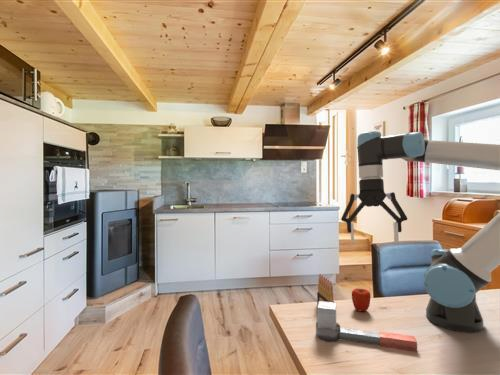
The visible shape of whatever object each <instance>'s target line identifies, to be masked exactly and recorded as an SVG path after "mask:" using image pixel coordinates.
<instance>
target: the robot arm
mask: <svg viewBox="0 0 500 375" xmlns="http://www.w3.org/2000/svg"><path fill="white" fill-rule="evenodd" d="M356 149H357V162H358V179H359V181H358V185H359V193H358V194H356V193H355V194H354V193H350V195H349V201H348V203H347V205H346V207H345V209H344V212H343V214H342V216H341V217H340V220H341V222H344V223H346V231H347V232H348V233H350V242H351V243H352V244H353V243H355V234H354V232H355V230H354V222H352V221H353V220H354V219H355V218H356V216H358V214H359V213H360V212H361V210H362V209H363V208H364V207H368V208H369V207H379V206H380V207H381V208H382V209H383V210H385V211H386V212H387V213H388V215H390V217H392V219H394V221H392V222H393V224H392V225H393V242H394V243H396V244H399V243H400V242H399V241H400V240H399V233H402V230H403V229H402V222H405V221H408V217H407V215H406V214H405V212H404V210H403V208H402V207H401V205H400V203H399V202H398V201H397V196H396V193H395V192H388V193H386V192H385V189H384V188H385V185H384V179H383V177H384V167H383V166H384V165H383V161H384V160H395V159H396V160H397V159H401V160H403V161H405V162H413V163H414V162H420V163H428V164H429V163H430V164H438V165H447V166H456V167H465V168H466V167H467V168H475V169H485V170H493V171H500V144H495V143H494V144H492V143H478V142H461V141H448V140H447V141H446V140H432V139H429V140H428V139H425V136H424V134H423V133H422V132H421V131H414V132H407V133H401V134H395V135H394V134H393V135H386V136H383V135H382V133H381V132H380V131H365V132H362V133H360V134H358V135H357V146H356ZM385 198H387V199H388V200H390V202H391V204H392V205H393V207H394V209H395V210H396V212H397V213H398V215H399V216H398V215H397V214H396V213H395V212H394V211H393V210H392V209H391V208H390V207H389V206H388V205H387V204H386V203H385V201H384V200H385ZM357 199H359V200H360V203H359V204H358V205H357V207H356V208H355V209H354V211H353V212H352V213H351V214H350V215H349V212H350V210H351V208H352V206H353V204H354V202H355V201H357ZM348 215H349V216H348ZM430 258H431V262H430V265H429V267H428V269H426V270H425V273H423V274H424V275H423V286H424V289H425V290H426V293H427V294H428V295H429V297H430V298H429V300H428V303H427V305H426V309H425V316H426V318H427V320H429V321H430V322H432V323H433V324H435V325H437V326H438V327H442V328H444V329H448V330H451V331H456V332H461V333H462V332H464V333H476V332H477V333H478V332H481V331H483V330H484V327H485V326H484V318H483V315H482V313H481V310H480V309H479V305H478V303H477V295H476V294H477V293H478V292H479V291H481V290H482V289H483V288H484V287H486V286H487V285H488V284H490V282H492V274H491V273H492V272H493V271H494V270H495V269H497V267H499V266H500V212H499V213H497V214H496V215H495V216H494V217H493V218H492V219H491V220H490V221H488V223H486V224H485V225H484V226H483V227H481V229H479V231H477V232H476V233H475V234H474V235H473V236H472V237H471V238H469V239H468V240H467V241H466V242H465V243H464V244H463V245H462V246H460V247H458V248H457V247H456V248H454V247H451V248H449V249H445V248H433V249H432V250H431V255H430Z"/></svg>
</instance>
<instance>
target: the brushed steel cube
mask: <svg viewBox="0 0 500 375" xmlns="http://www.w3.org/2000/svg"><path fill="white" fill-rule="evenodd" d="M317 322H318V328H320V329H327V330H334V331H336V323H337V302H334V303H332V302H323V301H319V304H318V305H317Z"/></svg>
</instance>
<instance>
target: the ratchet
mask: <svg viewBox="0 0 500 375" xmlns="http://www.w3.org/2000/svg"><path fill="white" fill-rule="evenodd" d="M315 336H316V337H317V338H318V339H319V340H320V341H323V342H328V343H335V342H338V341H340V340H341V341H347V342H354V343H360V344H366V345H367V344H368V345H374V346H379V347H383V348H391V349H396V350H403V351H410V352H415V353H417V352H418V342H417V339H416V336H415V335H409V334H404V333H402V334H401V333H397V332H396V333H394V332H387V331H381V330H379V331H378V332H373V331H368V330H367V331H366V330H359V329H358V330H357V329H351V328H343V327H341V325H340V324H339V323H338V322H336V331H334V330H327V329H320V328H318V321H316V323H315Z"/></svg>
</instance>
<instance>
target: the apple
mask: <svg viewBox="0 0 500 375" xmlns="http://www.w3.org/2000/svg"><path fill="white" fill-rule="evenodd" d="M351 291H352V292H351V300H352V304H353V306H354V309H355V311H356V312H366V311H368V309H369V307H370V304H371V292H370V290H367V289H365V288H354V289H353V290H351Z"/></svg>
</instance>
